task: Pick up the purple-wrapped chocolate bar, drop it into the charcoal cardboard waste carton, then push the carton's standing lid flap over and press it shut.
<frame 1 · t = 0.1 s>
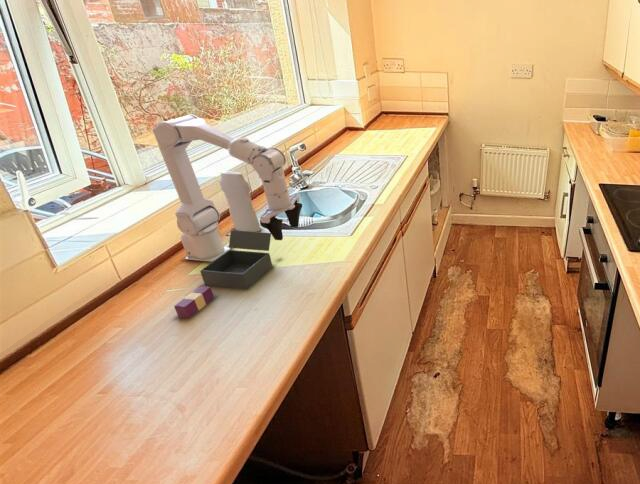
hand: (287, 232, 119), 10 cm above the worktop, tool pointing down, fingers open, 7 cm apart
carton: (240, 275, 116), on the worktop
flap: (249, 240, 119), point 8 cm above the worktop, hinge at 120.0°
chocolate: (197, 307, 104), on the worktop
tall pale column: (247, 229, 141), on the worktop
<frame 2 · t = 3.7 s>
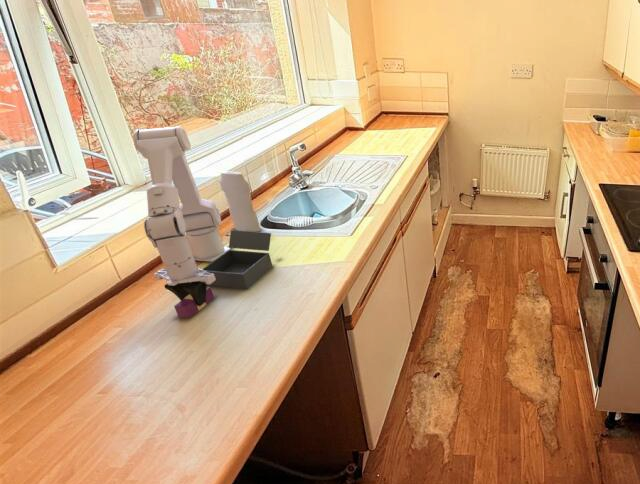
hand: (195, 302, 103), 1 cm above the worktop, tool pointing down, fingers closed on chocolate, 3 cm apart
chocolate: (197, 307, 104), on the worktop, touching gripper
everything else where it was.
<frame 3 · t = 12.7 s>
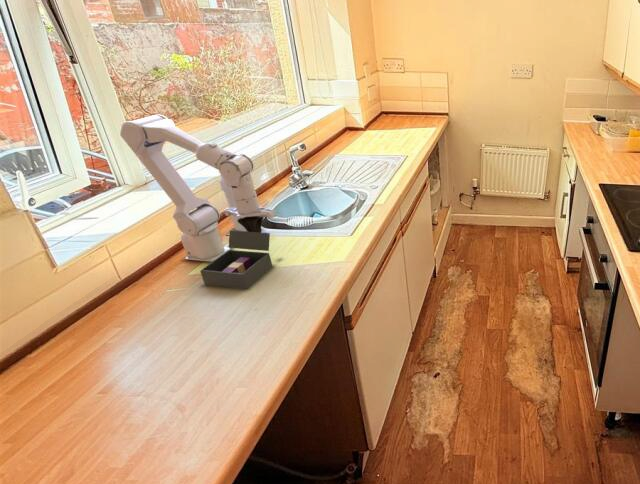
hand: (256, 236, 122), 7 cm above the worktop, tool pointing down, fingers closed, pressing on flap
flap: (249, 240, 119), point 8 cm above the worktop, hinge at 113.9°, touching gripper
chocolate: (238, 275, 116), resting on carton
everything else where it was.
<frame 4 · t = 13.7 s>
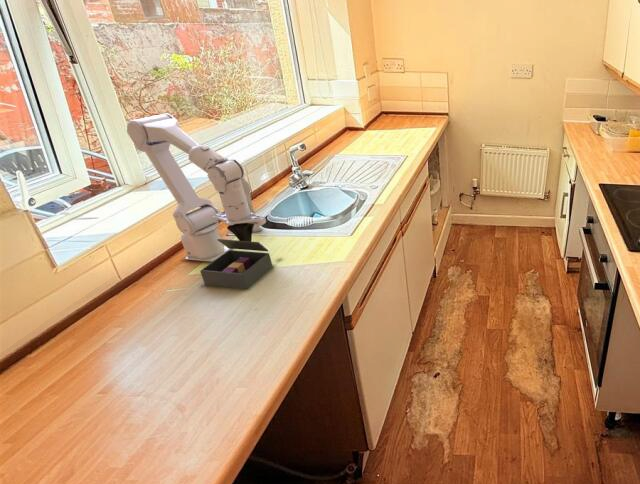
hand: (247, 243, 118), 7 cm above the worktop, tool pointing down, fingers closed, pressing on flap
flap: (243, 245, 117), point 8 cm above the worktop, hinge at 59.1°, touching gripper
everything else where it was.
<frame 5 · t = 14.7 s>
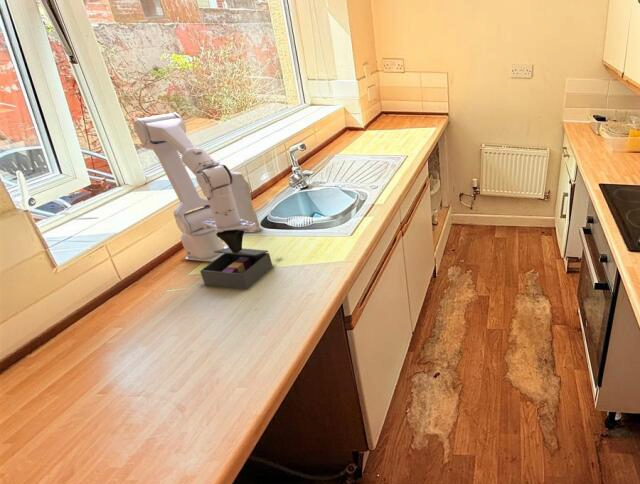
hand: (237, 251, 115), 7 cm above the worktop, tool pointing down, fingers closed
flap: (241, 251, 116), point 6 cm above the worktop, hinge at 19.6°
everything else where it was.
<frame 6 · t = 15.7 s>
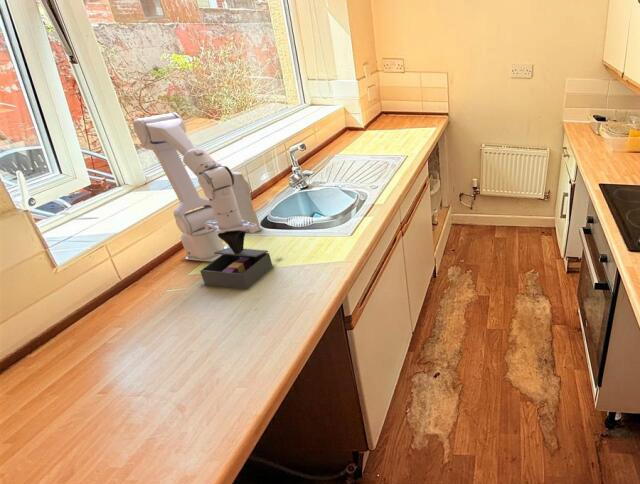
hand: (239, 251, 115), 7 cm above the worktop, tool pointing down, fingers closed, pressing on flap
flap: (241, 252, 116), point 6 cm above the worktop, hinge at 15.7°, touching gripper
everything else where it was.
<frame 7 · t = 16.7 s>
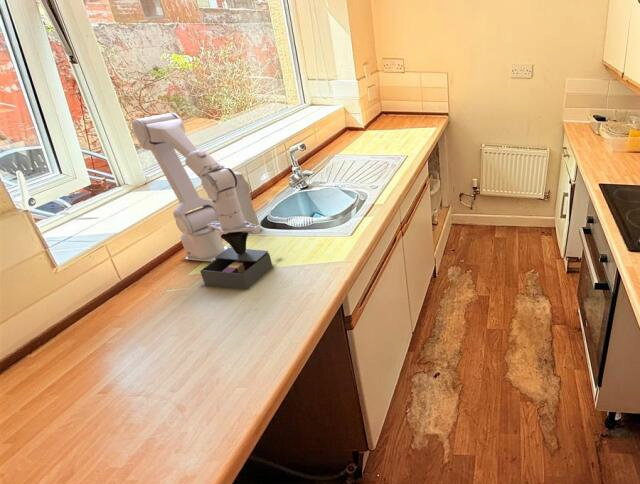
hand: (241, 252, 117), 6 cm above the worktop, tool pointing down, fingers closed
flap: (242, 254, 116), point 5 cm above the worktop, hinge at -1.4°
everything else where it was.
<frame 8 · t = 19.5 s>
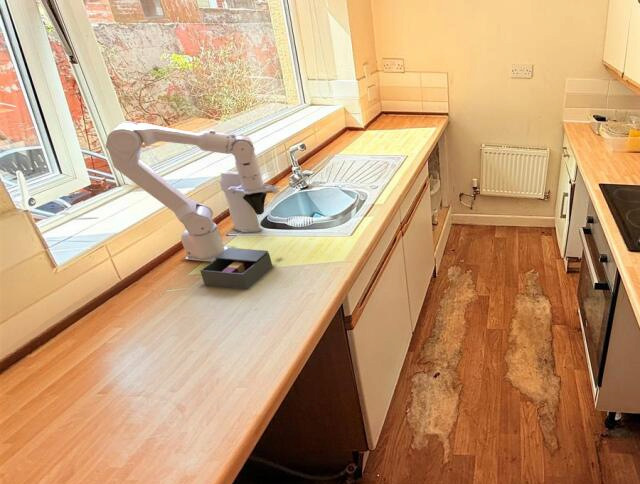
hand: (260, 213, 130), 10 cm above the worktop, tool pointing down, fingers closed
nothing on the worktop moved.
at the end: chocolate inside the target area in the carton (0.5 cm from its centre), point 0.4 cm above the carton's base; flap at -1° (first picture: +120°); the gripper is holding nothing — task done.
